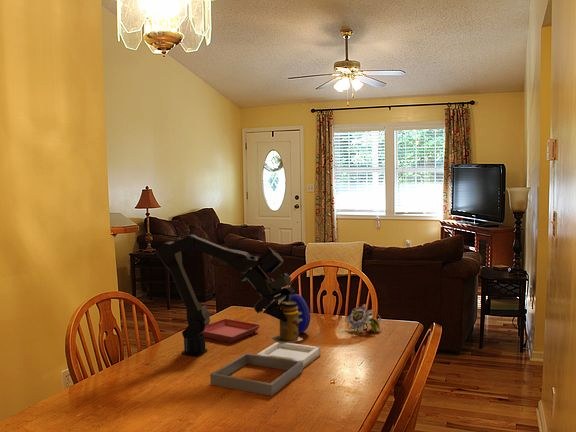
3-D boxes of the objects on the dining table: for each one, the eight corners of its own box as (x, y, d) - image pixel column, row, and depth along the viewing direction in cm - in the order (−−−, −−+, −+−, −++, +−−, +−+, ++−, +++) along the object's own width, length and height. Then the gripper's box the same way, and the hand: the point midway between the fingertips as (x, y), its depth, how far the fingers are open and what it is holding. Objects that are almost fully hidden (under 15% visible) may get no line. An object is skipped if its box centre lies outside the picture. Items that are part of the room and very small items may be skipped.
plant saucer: (261, 332, 201) (261, 324, 201) (232, 345, 186) (232, 336, 186) (225, 326, 211) (225, 318, 211) (194, 337, 196) (194, 329, 196)
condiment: (303, 339, 168) (303, 303, 167) (281, 344, 164) (281, 307, 163) (291, 334, 174) (291, 298, 173) (269, 338, 170) (269, 302, 169)
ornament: (278, 334, 197) (277, 295, 196) (287, 328, 206) (287, 290, 205) (305, 337, 193) (305, 297, 192) (314, 331, 201) (313, 292, 200)
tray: (256, 362, 167) (256, 354, 167) (277, 348, 181) (277, 341, 181) (301, 369, 160) (301, 361, 160) (320, 354, 174) (320, 347, 174)
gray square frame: (210, 384, 150) (210, 374, 149) (246, 362, 167) (245, 353, 167) (272, 396, 141) (271, 385, 141) (302, 371, 159) (302, 361, 158)
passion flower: (356, 345, 200) (338, 319, 202) (368, 333, 208) (351, 308, 210) (377, 334, 193) (358, 307, 195) (389, 322, 202) (370, 296, 204)
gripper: (262, 271, 161) (294, 310, 157) (288, 262, 178) (318, 297, 174) (240, 293, 165) (271, 332, 161) (268, 283, 182) (297, 318, 178)
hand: (291, 319), depth 168 cm, fingers closed on condiment, 6 cm apart
